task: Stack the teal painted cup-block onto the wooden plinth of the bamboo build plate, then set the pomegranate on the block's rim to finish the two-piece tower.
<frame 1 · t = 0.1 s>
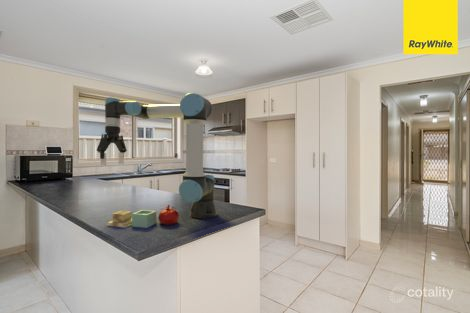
hand: (112, 164, 137), 28 cm above the counter, fingers open, 13 cm apart
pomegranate: (168, 223, 122), on the counter
cup block: (144, 225, 119), on the counter
build plate: (123, 223, 120), on the counter
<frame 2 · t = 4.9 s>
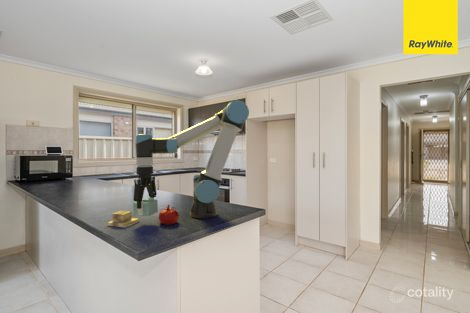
hand: (146, 212, 119), 6 cm above the counter, fingers closed on cup block, 8 cm apart
cup block: (145, 213, 119), point 5 cm above the counter, touching gripper
everything else where it was.
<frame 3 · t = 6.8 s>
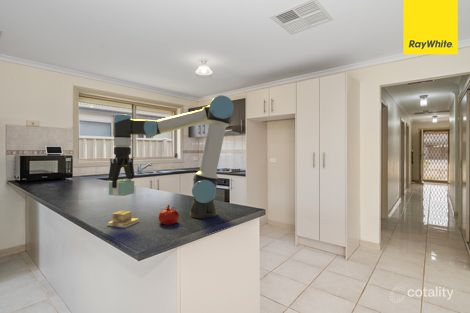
hand: (122, 193, 120), 15 cm above the counter, fingers closed on cup block, 8 cm apart
cup block: (121, 194, 120), point 15 cm above the counter, touching gripper
everything else where it was.
when the fingers open (6 cm above the counter, at t = 8.8 s): cup block stays where it is, resting on build plate.
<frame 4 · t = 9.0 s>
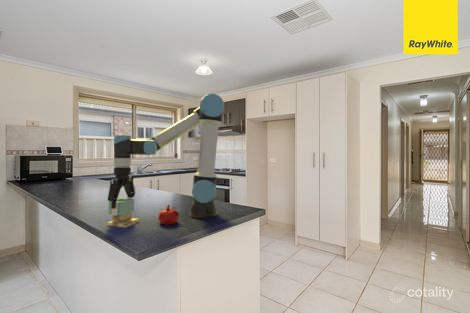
hand: (122, 212, 120), 6 cm above the counter, fingers open, 9 cm apart
cup block: (121, 212, 120), point 5 cm above the counter, touching build plate
everything else where it was.
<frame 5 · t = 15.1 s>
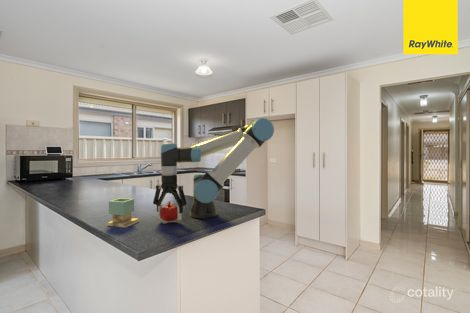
hand: (169, 218, 122), 2 cm above the counter, fingers closed on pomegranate, 10 cm apart
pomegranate: (170, 220, 123), point 2 cm above the counter, touching gripper
everything else where it was.
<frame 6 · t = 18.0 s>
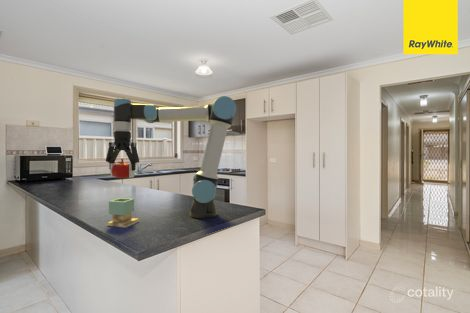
hand: (122, 176, 120), 23 cm above the counter, fingers closed on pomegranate, 10 cm apart
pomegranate: (122, 177, 120), point 23 cm above the counter, touching gripper
everything else where it was.
when the fingers open (12 cm above the counter, at t = 20.9 s): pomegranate stays where it is, resting on cup block.
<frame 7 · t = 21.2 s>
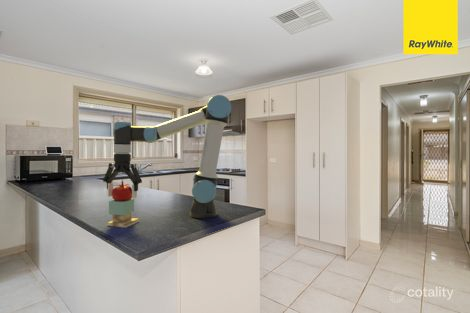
hand: (122, 197, 120), 13 cm above the counter, fingers open, 13 cm apart
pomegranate: (122, 200, 120), point 11 cm above the counter, touching cup block
cup block: (121, 212, 120), point 5 cm above the counter, touching build plate, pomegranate
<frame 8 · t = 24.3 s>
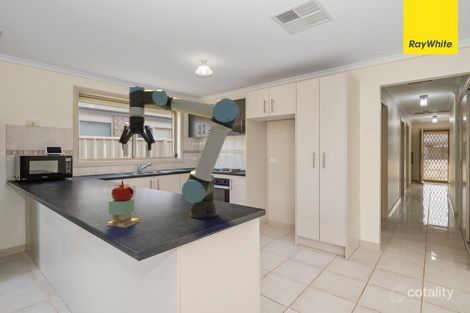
hand: (136, 156, 130), 33 cm above the counter, fingers open, 13 cm apart
nothing on the counter moved.
at the end: cup block 0.2 cm off-centre on the build plate, point 5.5 cm above the build plate's base; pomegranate 0.4 cm from the cup block (horizontally); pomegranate point 11.5 cm above the counter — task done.
